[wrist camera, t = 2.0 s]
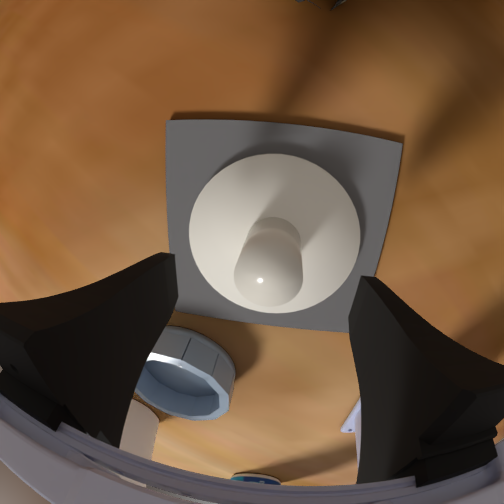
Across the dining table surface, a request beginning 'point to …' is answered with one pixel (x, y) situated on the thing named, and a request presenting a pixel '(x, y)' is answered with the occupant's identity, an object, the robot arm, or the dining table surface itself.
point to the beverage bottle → (256, 478)
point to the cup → (139, 433)
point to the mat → (286, 142)
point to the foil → (339, 1)
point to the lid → (274, 233)
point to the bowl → (187, 376)
